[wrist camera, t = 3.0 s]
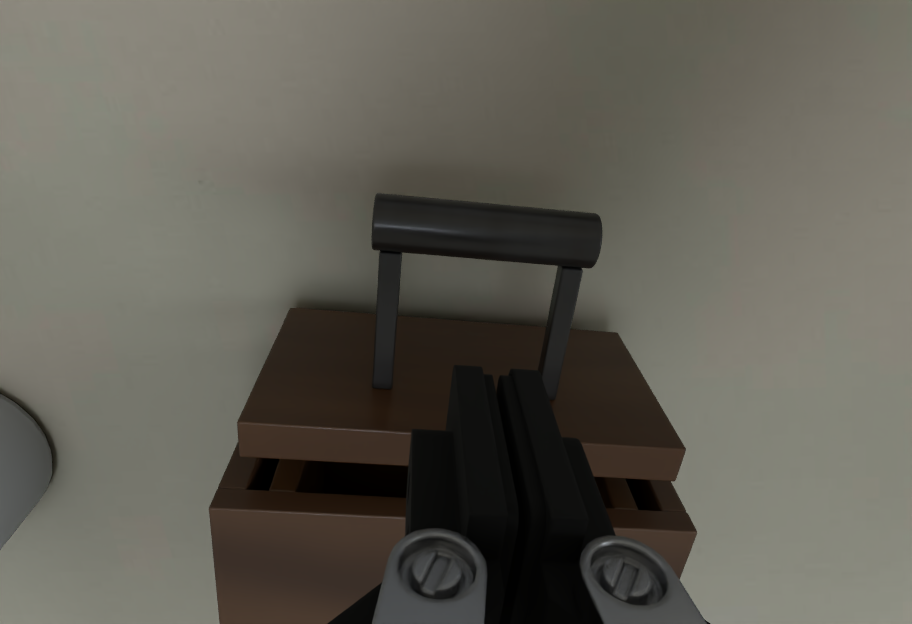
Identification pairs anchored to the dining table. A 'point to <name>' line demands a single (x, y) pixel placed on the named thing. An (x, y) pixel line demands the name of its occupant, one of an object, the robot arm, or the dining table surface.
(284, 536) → the cabinet
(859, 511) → the dining table surface
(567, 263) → the pull-out drawer box
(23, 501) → the cup
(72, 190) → the dining table surface
